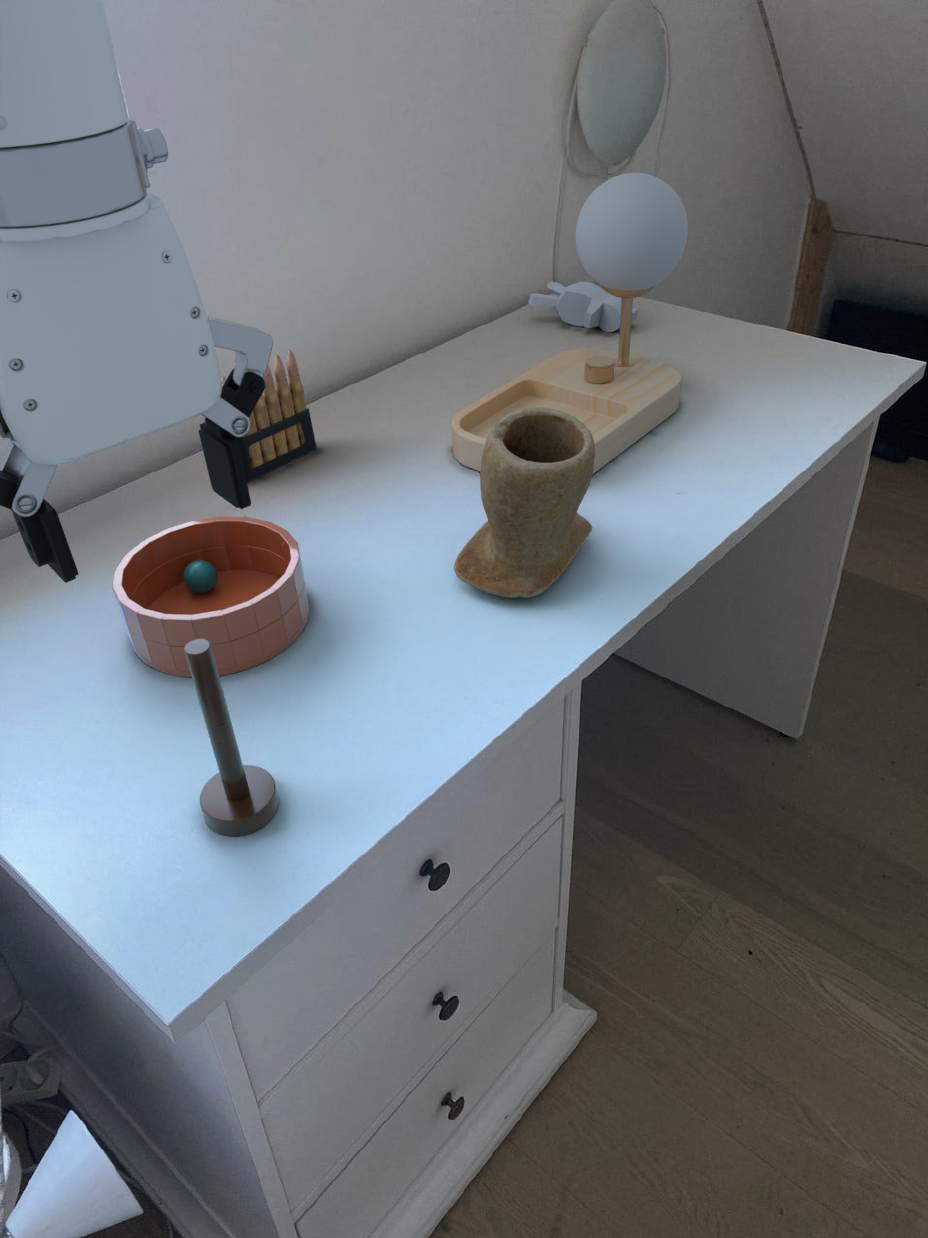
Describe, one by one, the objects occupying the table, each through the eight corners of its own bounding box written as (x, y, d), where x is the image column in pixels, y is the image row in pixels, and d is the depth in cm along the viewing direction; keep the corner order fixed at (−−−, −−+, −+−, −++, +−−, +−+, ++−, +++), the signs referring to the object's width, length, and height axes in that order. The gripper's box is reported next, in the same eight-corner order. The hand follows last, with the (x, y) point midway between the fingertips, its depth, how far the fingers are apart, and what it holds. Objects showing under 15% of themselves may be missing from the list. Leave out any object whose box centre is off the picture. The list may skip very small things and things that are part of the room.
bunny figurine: (619, 312, 129) (524, 284, 135) (613, 348, 132) (521, 319, 138) (648, 292, 135) (556, 265, 141) (641, 326, 139) (552, 299, 144)
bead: (193, 603, 85) (185, 576, 83) (183, 587, 87) (175, 560, 85) (225, 592, 86) (218, 565, 85) (214, 577, 88) (207, 550, 87)
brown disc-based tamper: (218, 848, 64) (167, 685, 55) (194, 799, 67) (143, 639, 58) (290, 816, 66) (252, 654, 57) (263, 770, 69) (224, 610, 60)
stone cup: (555, 624, 81) (559, 469, 72) (438, 588, 86) (427, 439, 77) (623, 538, 92) (633, 393, 83) (514, 510, 97) (513, 371, 88)
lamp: (560, 500, 98) (565, 248, 83) (433, 456, 107) (416, 222, 92) (707, 388, 118) (733, 169, 103) (590, 359, 127) (598, 154, 112)
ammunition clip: (306, 444, 111) (290, 344, 103) (317, 448, 110) (301, 348, 102) (232, 479, 105) (210, 376, 97) (242, 484, 104) (220, 381, 96)
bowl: (159, 702, 76) (141, 644, 72) (111, 605, 87) (93, 550, 83) (337, 635, 82) (328, 578, 78) (271, 552, 92) (260, 499, 89)
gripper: (193, 133, 46) (257, 453, 56) (-204, 208, 37) (-42, 569, 47) (276, 154, 41) (328, 498, 51) (-158, 245, 32) (11, 636, 43)
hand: (150, 532), depth 49 cm, fingers open, 9 cm apart
